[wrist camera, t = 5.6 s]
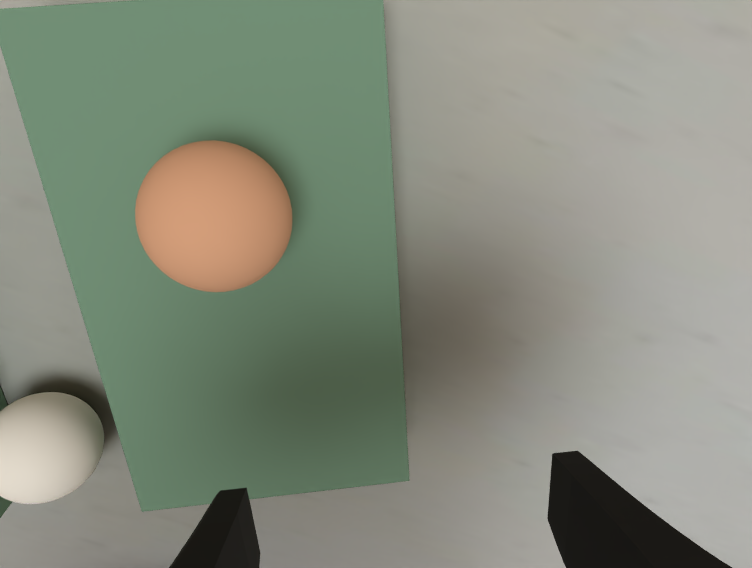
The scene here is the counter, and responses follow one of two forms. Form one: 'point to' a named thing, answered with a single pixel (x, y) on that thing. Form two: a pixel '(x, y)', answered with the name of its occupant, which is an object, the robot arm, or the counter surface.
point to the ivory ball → (47, 447)
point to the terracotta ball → (213, 216)
